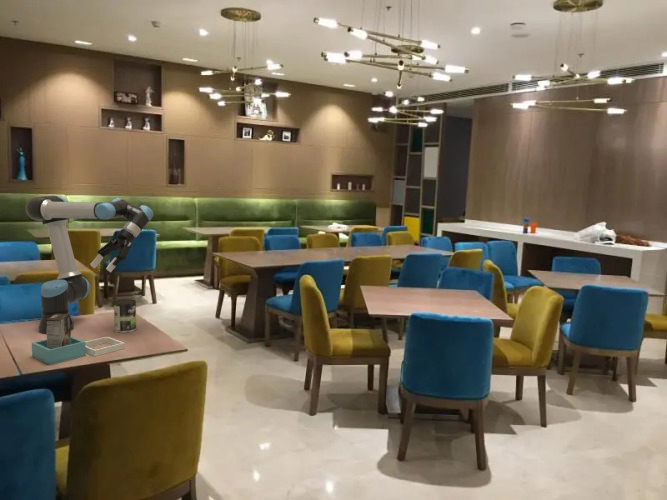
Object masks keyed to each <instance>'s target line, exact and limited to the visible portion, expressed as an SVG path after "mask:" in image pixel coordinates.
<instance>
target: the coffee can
mask: <svg viewBox="0 0 667 500" xmlns="http://www.w3.org/2000/svg"><path fill="white" fill-rule="evenodd" d="M113 323H114V331H115V332H116V333H123V334H124V333H131V332H135V331H136V330H137V301H136V300H135V299H131V298H130V299H118V300H115V301H113Z"/></svg>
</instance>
